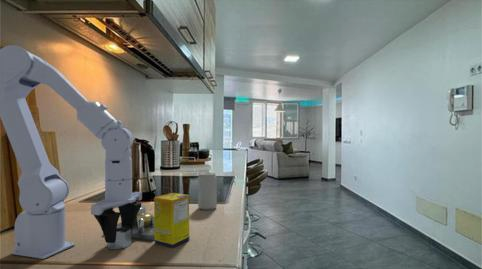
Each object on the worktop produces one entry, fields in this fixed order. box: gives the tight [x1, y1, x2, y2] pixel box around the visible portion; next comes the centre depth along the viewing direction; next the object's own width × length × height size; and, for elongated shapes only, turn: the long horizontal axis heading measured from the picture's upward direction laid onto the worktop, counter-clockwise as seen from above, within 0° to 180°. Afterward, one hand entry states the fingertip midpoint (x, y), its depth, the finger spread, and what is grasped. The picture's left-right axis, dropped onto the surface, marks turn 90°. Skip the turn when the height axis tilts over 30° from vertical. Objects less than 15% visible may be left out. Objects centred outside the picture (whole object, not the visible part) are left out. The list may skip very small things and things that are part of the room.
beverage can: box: [197, 171, 218, 211], centre depth 100 cm, size 6×6×12 cm
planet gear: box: [106, 226, 132, 250], centre depth 67 cm, size 5×5×4 cm
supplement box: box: [153, 192, 190, 249], centre depth 69 cm, size 6×6×11 cm
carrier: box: [117, 205, 155, 242], centre depth 78 cm, size 14×14×5 cm
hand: (119, 237), depth 67 cm, fingers closed on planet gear, 5 cm apart
